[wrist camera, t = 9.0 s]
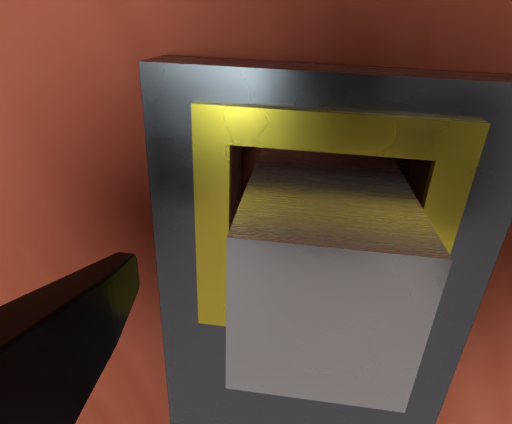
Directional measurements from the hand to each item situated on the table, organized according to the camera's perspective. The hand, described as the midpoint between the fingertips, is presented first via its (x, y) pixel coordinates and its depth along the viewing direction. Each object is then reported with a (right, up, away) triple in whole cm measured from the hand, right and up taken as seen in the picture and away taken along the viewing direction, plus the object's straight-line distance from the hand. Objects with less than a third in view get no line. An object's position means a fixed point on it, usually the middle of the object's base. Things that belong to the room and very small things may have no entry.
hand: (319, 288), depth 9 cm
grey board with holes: (0, -3, +7) cm, 8 cm away
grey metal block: (+1, +2, +4) cm, 5 cm away
